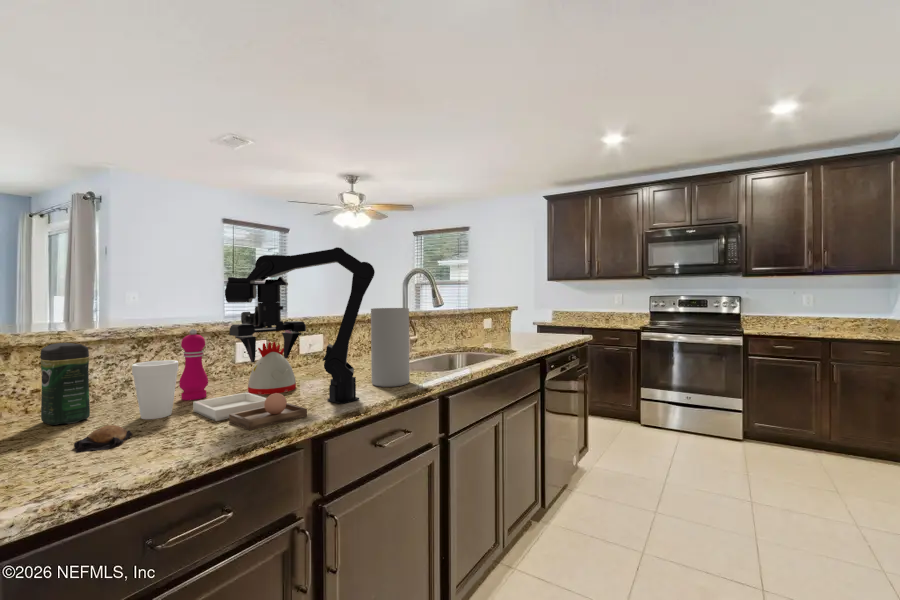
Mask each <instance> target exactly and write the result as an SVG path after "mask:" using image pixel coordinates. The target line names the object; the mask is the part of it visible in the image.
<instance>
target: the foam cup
mask: <svg viewBox="0 0 900 600" xmlns="http://www.w3.org/2000/svg"><path fill="white" fill-rule="evenodd" d="M178 372H179V361H178V360H172V359H170V360H169V359H168V360H167V359H165V360H164V359H163V360H149V361H142V362H135V363H133V364H131V375H132V376H133V382H134V388H135V393H136V399H137V403H138V410H139V414H140V419H143V420H155V419H161V418H166V417H169V416H171V415H172V412H173V407H174V399H175V393H176V385H177V384H176V383H177V378H178Z"/></svg>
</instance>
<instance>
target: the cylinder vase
mask: <svg viewBox="0 0 900 600" xmlns="http://www.w3.org/2000/svg"><path fill="white" fill-rule="evenodd" d="M370 343H371V344H370V345H371V347H370V348H371V350H370V351H371V352H370V353H371V356H370V359H371V360H370V361H371V364H370V365H371V366H370V367H371V371H370V372H371V384H372V385H373V386H375V387H381V388H382V387H383V388H393V387H395V388H397V387H402V386H406V385H408V384H409V383H410V308H409V307H378V308H377V307H376V308H375V307H374V308H370Z"/></svg>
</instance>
